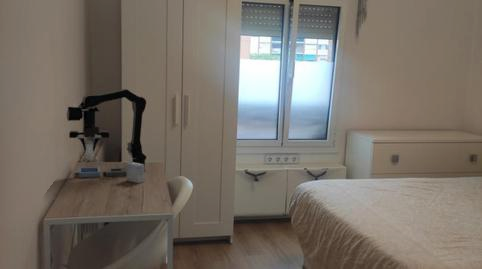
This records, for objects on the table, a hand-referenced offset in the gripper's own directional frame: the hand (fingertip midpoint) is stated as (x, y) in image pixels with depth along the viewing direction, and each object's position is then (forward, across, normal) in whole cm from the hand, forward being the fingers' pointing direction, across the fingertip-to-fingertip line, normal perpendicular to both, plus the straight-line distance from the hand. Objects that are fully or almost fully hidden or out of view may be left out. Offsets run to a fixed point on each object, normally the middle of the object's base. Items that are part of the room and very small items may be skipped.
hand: (89, 151), depth 221 cm
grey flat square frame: (+12, +13, 0) cm, 18 cm away
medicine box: (+12, +21, -17) cm, 30 cm away
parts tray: (+12, 0, 0) cm, 12 cm away
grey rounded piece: (+3, 0, 0) cm, 3 cm away
